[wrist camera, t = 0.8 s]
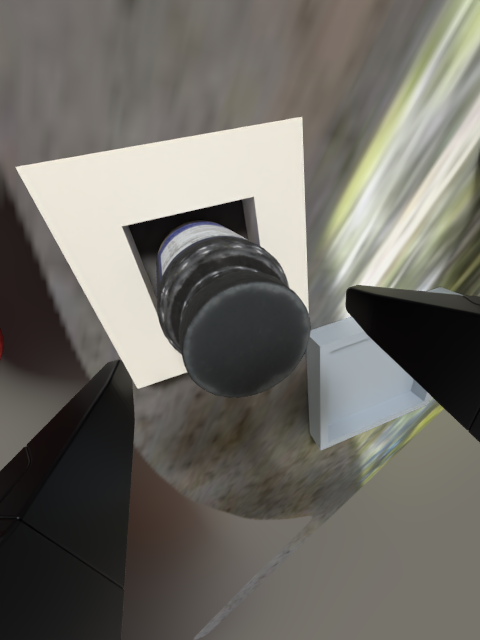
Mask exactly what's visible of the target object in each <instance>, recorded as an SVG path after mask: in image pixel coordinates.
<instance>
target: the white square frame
mask: <svg viewBox="0 0 480 640" xmlns="http://www.w3.org/2000/svg"><path fill="white" fill-rule="evenodd" d="M16 169H17V171H18V173H19V175H20V176H21V178H22V180H23V182H24V184H25V185H26V187H27V189H28V191H29V193H30V194H31V196H32V198H33V200H34V202H35V204H36V205H37V207H38V209H39V211H40V213H41V214H42V216H43V218H44V220H45V222H46V223H47V225H48V227H49V229H50V231H51V233H52V234H53V236H54V238H55V240H56V242H57V243H58V245H59V247H60V249H61V251H62V252H63V254H64V256H65V258H66V260H67V262H68V263H69V265H70V267H71V269H72V271H73V272H74V274H75V276H76V278H77V280H78V281H79V283H80V285H81V287H82V289H83V291H84V292H85V294H86V296H87V298H88V300H89V301H90V303H91V305H92V307H93V309H94V310H95V312H96V314H97V316H98V318H99V320H100V321H101V323H102V325H103V327H104V329H105V330H106V332H107V334H108V336H109V338H110V339H111V341H112V343H113V345H114V347H115V349H116V350H117V352H118V354H119V356H120V358H121V359H122V361H123V363H124V365H125V367H126V368H127V370H128V372H129V374H130V376H131V378H132V379H133V381H134V383H135V385H136V387H137V388H138V389H139V388H142V387H145V386H148V385H151V384H154V383H157V382H160V381H163V380H166V379H169V378H172V377H175V376H178V375H181V374H184V373H187V370H186V368H185V366H184V362H183V357H182V354H180V353H179V352H178V351H177V350H175V349H174V347H173V346H172V345H171V344H170V343H169V341H168V339H167V338H166V337H165V335H164V333H163V331H162V329H161V326H160V323H159V319H158V316H157V298H156V296H155V293H154V291H153V288H152V285H151V283H150V280H149V278H148V275H147V273H146V270H145V268H144V265H143V262H142V260H141V257H140V255H139V252H138V250H137V247H136V244H135V242H134V239H133V237H132V234H131V232H130V229H129V227H128V225H131V224H135V223H140V222H144V221H148V220H153V219H157V218H162V217H166V216H170V215H175V214H179V213H184V212H188V211H193V210H197V209H201V208H206V207H210V206H215V205H219V204H224V203H228V202H232V201H237V200H241V199H242V204H243V210H244V217H245V223H246V230H247V236H248V240H249V241H251V242H253V243H255V244H257V245H258V246H261V247H262V248H264V249H265V250H266V251H267V252H269V253H270V254H271V255H272V256H273V257H274V258H275V259H277V261H278V263H280V265H281V267H282V269H283V271H284V273H285V275H286V278H287V281H288V284H289V288H290V289H291V290H293V291H294V292H295V293H296V294H297V295H298V296H299V298H300V299H301V300H302V302H303V303H304V305H305V306H306V308H307V311H308V313H309V310H308V280H307V250H306V220H305V190H304V159H303V129H302V117H299V118H293V119H287V120H281V121H276V122H270V123H264V124H259V125H253V126H247V127H242V128H236V129H230V130H224V131H219V132H213V133H207V134H202V135H196V136H190V137H184V138H179V139H173V140H167V141H162V142H156V143H150V144H144V145H139V146H133V147H127V148H122V149H116V150H110V151H104V152H99V153H93V154H87V155H82V156H76V157H70V158H64V159H59V160H53V161H47V162H42V163H36V164H30V165H25V166H19V167H16Z"/></svg>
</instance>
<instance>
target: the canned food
mask: <svg viewBox="0 0 480 640" xmlns="http://www.w3.org/2000/svg"><path fill="white" fill-rule="evenodd" d="M2 352H3V336H2V332H1V329H0V359H1V356H2Z"/></svg>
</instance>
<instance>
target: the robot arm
mask: <svg viewBox="0 0 480 640" xmlns="http://www.w3.org/2000/svg"><path fill="white" fill-rule="evenodd" d="M346 310H347V312H348V313H349V314H350V315H351V316H352V318H353V319H354V320H355V321H356V322H357V323H358V325H359V326H360V327H361V328H362V329H363V330H364V332H365V333H366V334H367V335H368V336H369V337H370V338H371V339H372V340H373V341H374V342H375V343H376V344H377V345H378V346H379V347H380V348H381V349H382V350H383V351H384V352H385V353H386V354H388V355H389V356H390V357H391V358H392V359H393V360H394V361H395V362H396V363H397V364H398V365H399V366H400V367H401V368H402V369H403V370H404V371H405V372H406V373H408V374H409V375H410V376H411V377H412V378H413V379H414V380H415V381H416V382H417V383H418V384H419V385H420V386H421V387H422V388H423V389H424V390H425V391H426V392H428V393H429V394H430V395H431V396H432V397H433V398H434V399H435V400H436V401H437V402H438V403H439V404H440V405H441V406H442V407H443V408H444V409H445V410H446V411H448V412H449V413H450V414H451V415H452V416H453V417H454V418H455V419H456V420H457V421H458V422H459V423H460V424H461V425H462V426H463V427H464V428H465V429H466V430H469V433H471V435H473V436H474V437H475V438H476V439H477V440H478V441H479V442H480V297H478V296H467V295H463V296H461V295H456V294H446V293H435V292H425V291H414V290H404V289H393V288H383V287H372V286H362V285H356V286H353V287H349V288H348V289H347V291H346ZM134 423H135V418H134V401H133V386H132V379H131V376H130V374H129V372H128V371H127V369H126V367H125V365H124V363H123V362H122V361H121V360H120V359H118V360H114V361H111V362H108V363H107V364H106V365H105V366H104V367H103V368H102V369H101V370H100V371H99V372H98V373H97V374H96V375H95V376H94V377H93V378H92V379H91V380H90V381H89V382H88V383H87V384H86V385H85V386H84V387H83V388H82V389H81V390H80V391H79V392H78V393H77V394H76V395H75V396H74V397H73V398H72V399H71V400H70V402H68V403H67V404H66V405H65V406H64V407H63V408H62V409H61V410H60V411H59V413H58V414H56V416H55V417H54V418H53V419H52V420H51V421H50V422H49V423H48V424H47V425H46V426H45V427H44V428H43V429H42V430H41V431H40V432H39V433H38V434H37V435H36V436H35V437H34V438H33V439H32V440H31V441H30V442H29V443H28V444H27V447H24V448H23V449H22V450H21V451H20V452H19V453H18V454H17V455H16V456H15V457H14V458H13V459H12V460H11V461H10V462H9V463H8V464H7V465H6V466H5V467H4V468H3V469H2V470H1V471H0V640H121V632H122V617H123V601H124V589H123V588H124V583H125V567H126V550H127V535H128V520H129V504H130V488H131V472H132V456H133V440H134Z"/></svg>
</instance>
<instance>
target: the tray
mask: <svg viewBox="0 0 480 640" xmlns="http://www.w3.org/2000/svg"><path fill="white" fill-rule="evenodd" d="M427 292H435V293H446V294H456V295H461V296H463V295H462V294H459V293H456V292H453V291H450V290H448V289H445V288H442V287H438V288H435V289H433V290H430V291H427ZM306 358H307V381H308V405H309V428H310V434H311V436H312V438H313V439H314V441H315V442H316V444H317V446H318V447H319V449H320V450H323V449H325V448H328V447H330V446H332V445H335V444H337V443H339V442H342V441H344V440H346V439H349V438H351V437H353V436H356V435H358V434H360V433H363V432H365V431H367V430H370V429H372V428H374V427H377V426H379V425H381V424H384V423H386V422H388V421H391V420H393V419H395V418H398V417H400V416H402V415H405V414H407V413H409V412H412V411H414V410H416V409H419V408H421V407H423V406H426V405H428V404H429V402H430V399H431V395H430V394H429V393H428V392H426V391H425V390H424V389H423V388H422V387H421V386H420V385H419V384H418V383H417V382H416V381H415V380H414V379H413V378H412V377H411V376H410V375H409V374H408V373H406V372H405V371H404V370H403V369H402V368H401V367H400V366H399V365H398V364H397V363H396V362H395V361H394V360H393V359H392V358H391V357H390V356H389V355H388V354H386V353H385V352H384V351H383V350H382V349H381V348H380V347H379V346H378V345H377V344H376V343H375V342H374V341H373V340H372V339H371V338H370V337H369V336H368V335H367V334H366V333H365V332H364V330H363V329H362V328H361V327H360V326H359V325H358V323H357V322H356V321H355V320H354V319H353V318H352V317H349V318H346V319H343V320H340V321H337V322H334V323H331V324H328V325H325V326H322V327H319V328H316V329H313V330H311V331H310V338H309V342H308V345H307V350H306Z"/></svg>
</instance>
